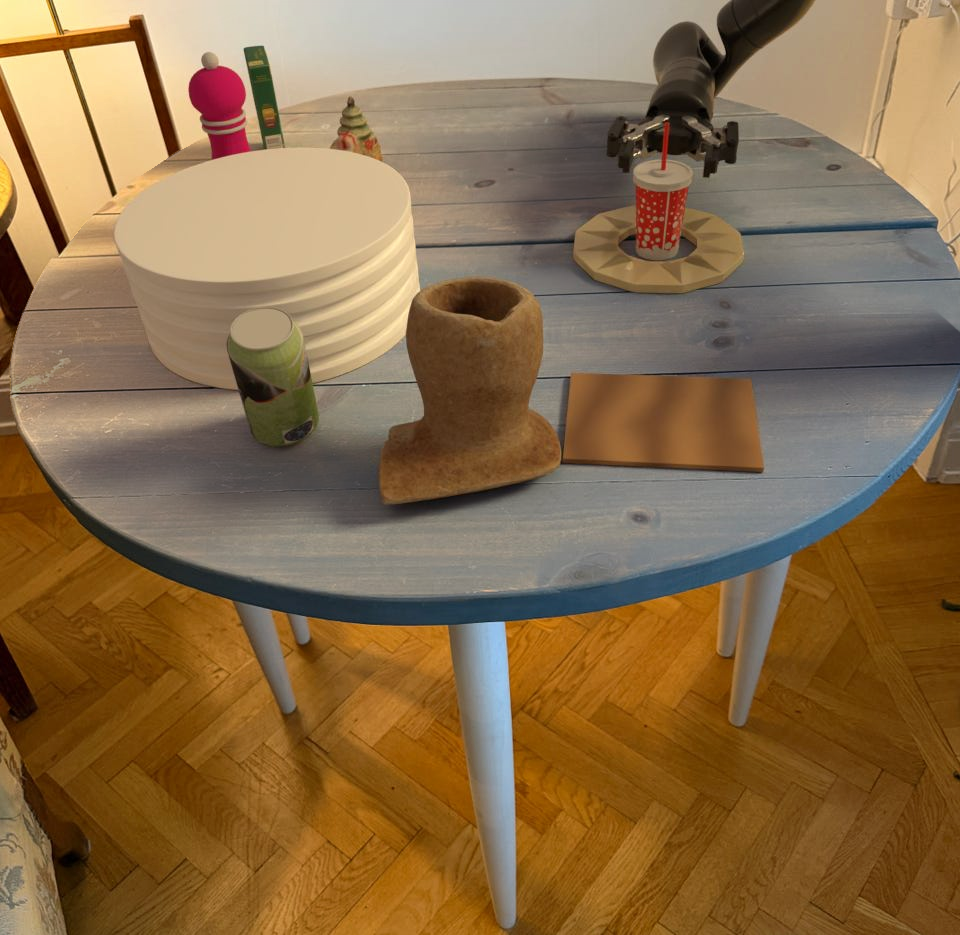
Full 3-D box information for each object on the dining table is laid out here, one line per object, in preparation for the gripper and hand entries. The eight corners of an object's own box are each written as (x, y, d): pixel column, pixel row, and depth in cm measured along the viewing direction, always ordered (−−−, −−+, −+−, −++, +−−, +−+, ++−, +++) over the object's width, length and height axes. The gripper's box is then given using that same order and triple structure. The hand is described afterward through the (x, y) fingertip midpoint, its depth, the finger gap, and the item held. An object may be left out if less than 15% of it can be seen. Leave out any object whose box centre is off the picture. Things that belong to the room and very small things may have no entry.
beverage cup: (678, 234, 104) (690, 109, 95) (691, 261, 99) (705, 132, 90) (623, 239, 104) (630, 114, 95) (634, 266, 99) (642, 137, 90)
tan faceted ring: (735, 213, 107) (736, 205, 107) (748, 295, 94) (749, 286, 93) (578, 211, 110) (578, 203, 109) (569, 291, 96) (569, 282, 96)
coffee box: (289, 164, 124) (270, 62, 116) (268, 167, 124) (246, 66, 115) (283, 142, 130) (264, 43, 121) (263, 145, 130) (242, 46, 121)
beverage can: (307, 401, 84) (281, 285, 76) (336, 445, 79) (313, 326, 71) (240, 424, 82) (207, 307, 74) (266, 471, 77) (234, 352, 69)
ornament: (371, 191, 117) (360, 111, 110) (324, 190, 118) (311, 110, 111) (387, 164, 122) (378, 87, 116) (342, 163, 123) (331, 87, 117)
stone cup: (537, 401, 83) (534, 249, 73) (574, 489, 74) (577, 329, 64) (367, 430, 81) (342, 277, 71) (385, 523, 72) (358, 364, 62)
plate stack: (98, 380, 88) (56, 273, 81) (212, 239, 109) (187, 144, 101) (382, 400, 84) (365, 289, 76) (445, 249, 104) (437, 150, 97)
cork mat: (750, 383, 83) (751, 378, 83) (763, 472, 74) (764, 467, 74) (570, 376, 85) (571, 372, 85) (562, 463, 76) (562, 458, 76)
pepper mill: (207, 227, 111) (160, 54, 98) (258, 207, 115) (220, 37, 102) (237, 247, 107) (193, 69, 94) (290, 226, 111) (255, 50, 97)
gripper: (622, 75, 110) (600, 129, 98) (746, 80, 107) (739, 135, 95) (619, 138, 115) (598, 196, 103) (737, 144, 112) (730, 204, 100)
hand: (666, 166), depth 99 cm, fingers open, 8 cm apart
